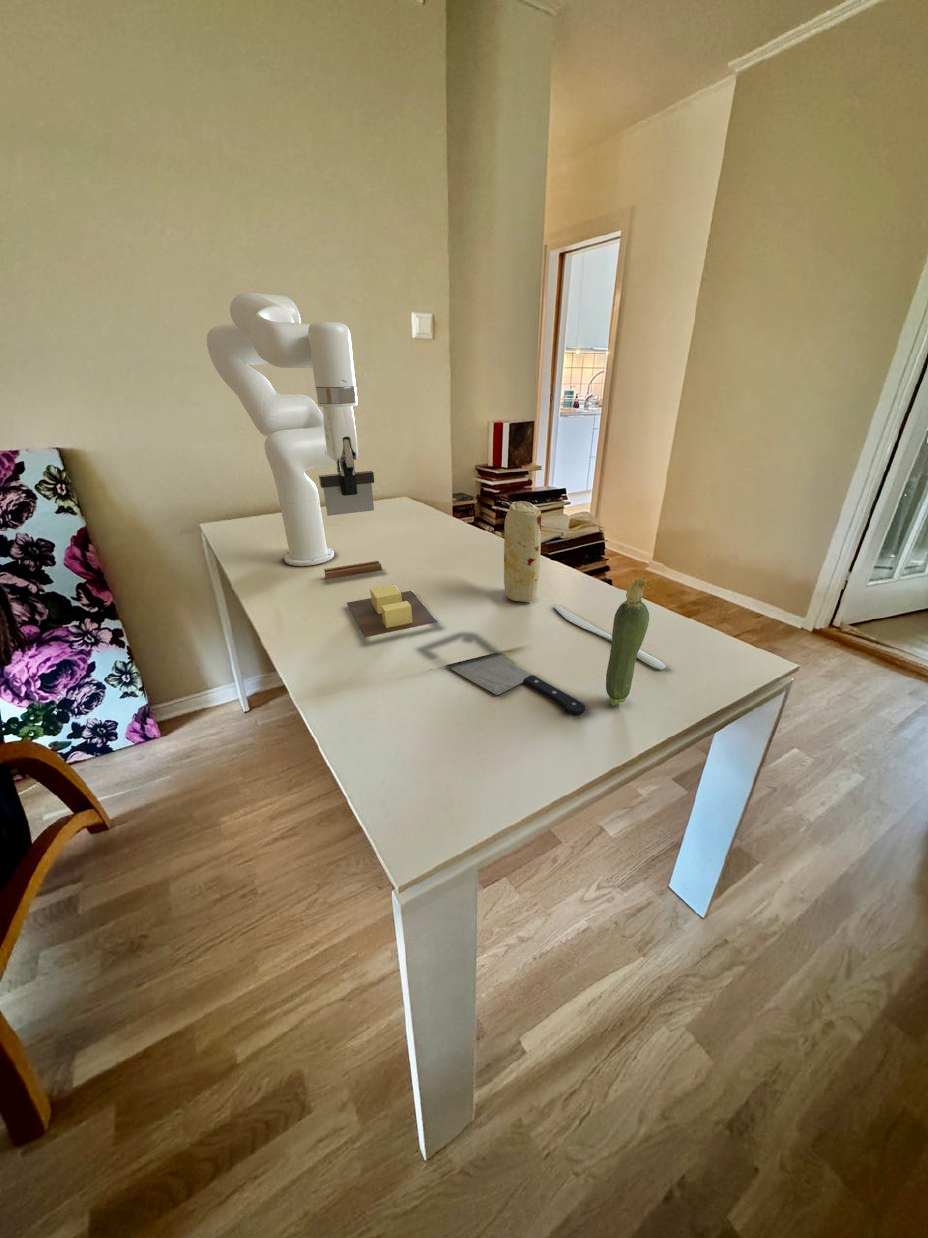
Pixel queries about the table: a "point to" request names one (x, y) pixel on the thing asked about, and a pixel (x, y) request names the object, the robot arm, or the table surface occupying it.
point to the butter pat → (396, 614)
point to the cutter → (350, 502)
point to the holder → (352, 569)
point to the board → (373, 621)
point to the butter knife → (590, 627)
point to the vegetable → (626, 642)
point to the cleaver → (510, 679)
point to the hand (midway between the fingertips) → (348, 492)
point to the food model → (522, 551)
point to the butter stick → (384, 596)
